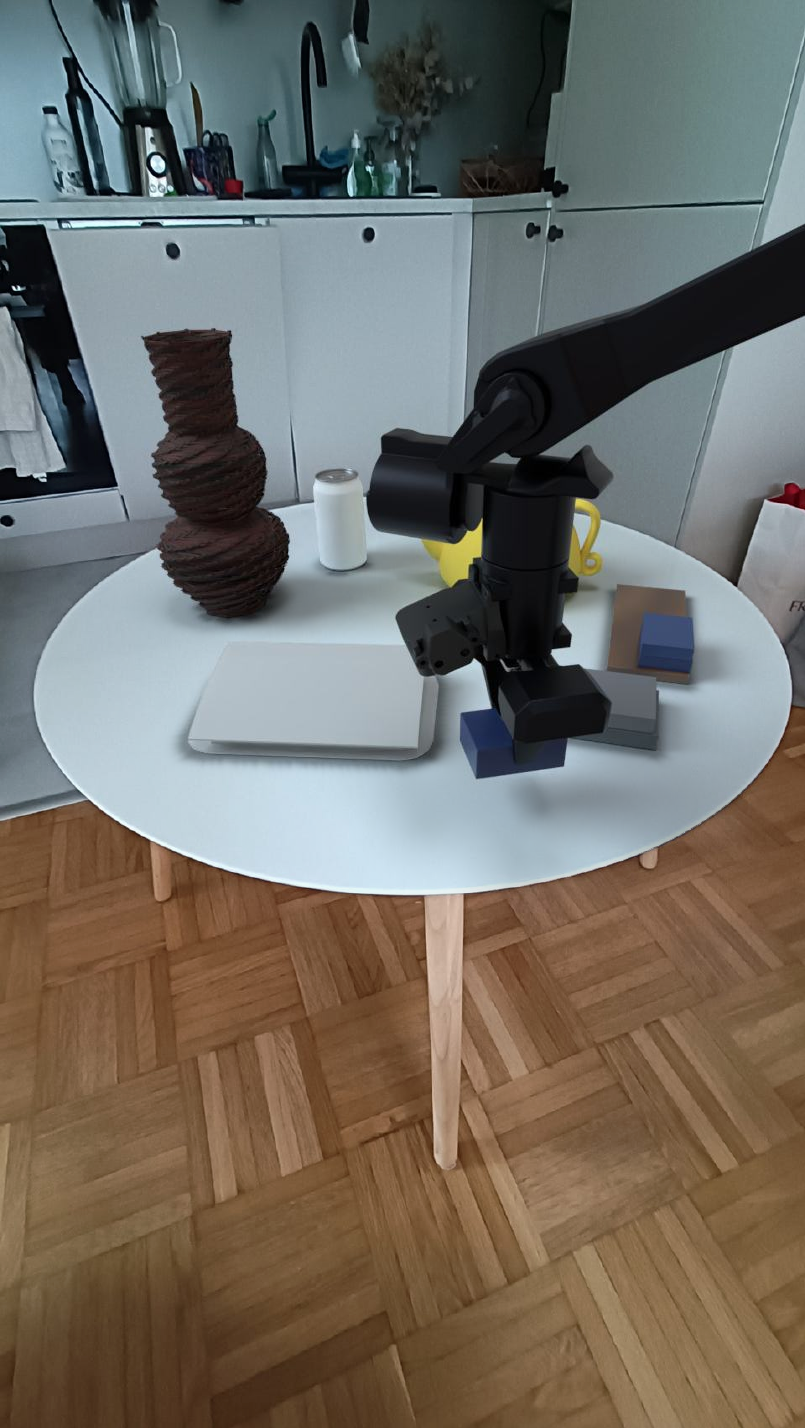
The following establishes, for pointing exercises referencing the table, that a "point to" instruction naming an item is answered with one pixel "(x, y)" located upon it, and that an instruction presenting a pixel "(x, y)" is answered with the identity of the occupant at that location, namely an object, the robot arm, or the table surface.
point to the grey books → (629, 709)
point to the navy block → (501, 746)
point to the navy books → (666, 643)
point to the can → (340, 519)
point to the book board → (628, 625)
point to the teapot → (461, 554)
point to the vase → (212, 479)
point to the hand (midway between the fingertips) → (511, 742)
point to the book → (316, 702)
